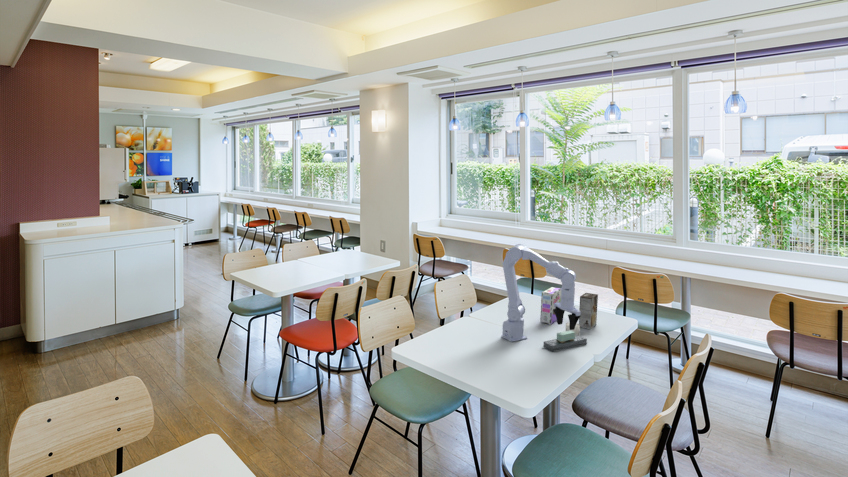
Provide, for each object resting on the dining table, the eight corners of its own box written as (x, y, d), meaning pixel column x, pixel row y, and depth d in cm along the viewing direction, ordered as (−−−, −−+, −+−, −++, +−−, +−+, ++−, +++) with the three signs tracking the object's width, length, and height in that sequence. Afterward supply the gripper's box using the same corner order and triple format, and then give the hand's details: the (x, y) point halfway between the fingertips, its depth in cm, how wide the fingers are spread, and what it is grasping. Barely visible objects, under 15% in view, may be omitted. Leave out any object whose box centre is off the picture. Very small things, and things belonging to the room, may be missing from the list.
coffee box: (584, 322, 241) (585, 292, 239) (596, 324, 237) (598, 294, 235) (578, 326, 234) (579, 296, 231) (590, 329, 230) (592, 298, 227)
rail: (552, 351, 202) (552, 346, 202) (543, 346, 208) (543, 341, 207) (586, 344, 211) (586, 338, 211) (576, 339, 216) (577, 334, 216)
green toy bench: (561, 348, 206) (561, 335, 205) (556, 345, 209) (556, 333, 208) (574, 345, 210) (575, 332, 209) (569, 342, 213) (570, 330, 212)
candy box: (550, 324, 237) (552, 293, 234) (539, 322, 240) (541, 291, 238) (560, 318, 248) (562, 288, 245) (550, 315, 251) (551, 286, 249)
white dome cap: (572, 337, 219) (572, 327, 218) (562, 333, 225) (563, 323, 224) (582, 335, 222) (582, 325, 221) (572, 331, 227) (572, 321, 227)
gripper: (586, 300, 201) (584, 330, 203) (562, 292, 214) (561, 320, 216) (574, 302, 198) (572, 332, 200) (551, 294, 211) (549, 322, 213)
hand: (565, 326), depth 208 cm, fingers open, 7 cm apart
